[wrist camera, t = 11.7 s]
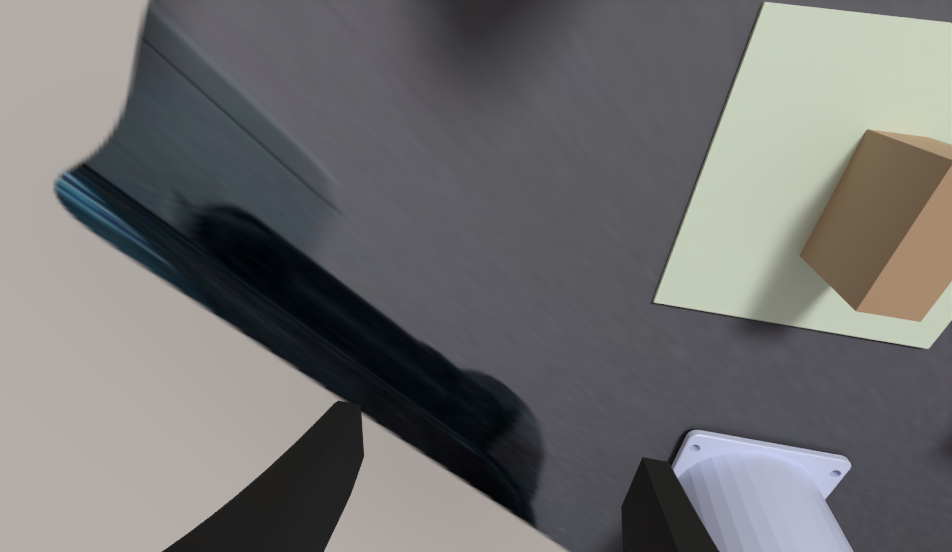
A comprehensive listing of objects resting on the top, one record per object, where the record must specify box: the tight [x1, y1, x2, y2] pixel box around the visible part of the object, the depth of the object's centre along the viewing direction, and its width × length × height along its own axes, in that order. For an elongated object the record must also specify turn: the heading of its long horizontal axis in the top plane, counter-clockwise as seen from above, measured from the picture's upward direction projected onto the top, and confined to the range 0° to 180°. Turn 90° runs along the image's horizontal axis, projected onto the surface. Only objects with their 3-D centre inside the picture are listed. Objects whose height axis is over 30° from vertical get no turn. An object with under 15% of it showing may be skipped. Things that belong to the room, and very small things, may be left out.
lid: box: [653, 2, 952, 349], centre depth 15 cm, size 12×12×5 cm
